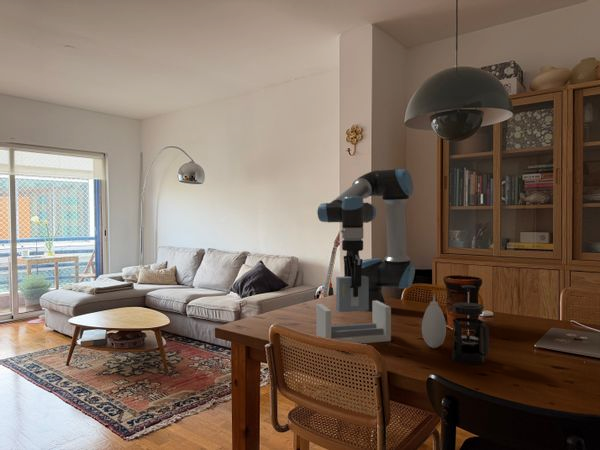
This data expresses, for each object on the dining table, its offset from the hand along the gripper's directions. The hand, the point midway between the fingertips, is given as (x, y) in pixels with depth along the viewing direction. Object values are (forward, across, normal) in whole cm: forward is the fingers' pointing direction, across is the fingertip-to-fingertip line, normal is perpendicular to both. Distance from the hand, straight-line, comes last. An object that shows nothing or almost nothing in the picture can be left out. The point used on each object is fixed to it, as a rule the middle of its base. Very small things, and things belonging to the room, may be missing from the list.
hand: (352, 304), depth 155 cm
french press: (+13, +30, +27) cm, 42 cm away
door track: (+12, 0, 0) cm, 12 cm away
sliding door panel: (+2, 0, 0) cm, 2 cm away
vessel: (+12, -4, +47) cm, 49 cm away
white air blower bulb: (+13, +16, +23) cm, 31 cm away
